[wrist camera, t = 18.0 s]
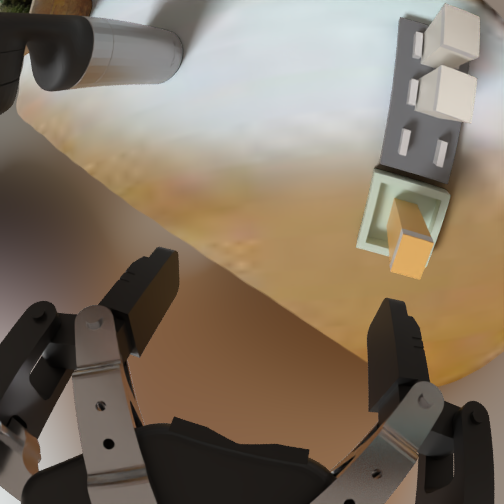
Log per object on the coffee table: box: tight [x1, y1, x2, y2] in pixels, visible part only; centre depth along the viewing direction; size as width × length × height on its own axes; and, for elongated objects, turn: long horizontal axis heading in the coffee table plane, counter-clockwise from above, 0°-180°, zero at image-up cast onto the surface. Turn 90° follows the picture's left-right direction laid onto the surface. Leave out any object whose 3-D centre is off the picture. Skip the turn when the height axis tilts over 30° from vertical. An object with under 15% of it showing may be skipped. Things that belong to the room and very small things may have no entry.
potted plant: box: [0, 0, 92, 55], centre depth 27 cm, size 18×19×25 cm
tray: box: [356, 168, 451, 267], centre depth 35 cm, size 10×10×3 cm
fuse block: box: [380, 17, 469, 184], centre depth 27 cm, size 9×19×4 cm, turn 174°
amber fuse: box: [386, 198, 434, 280], centre depth 31 cm, size 3×4×12 cm
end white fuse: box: [421, 3, 480, 69], centre depth 19 cm, size 3×4×12 cm
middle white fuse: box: [414, 65, 477, 124], centre depth 22 cm, size 3×4×12 cm
